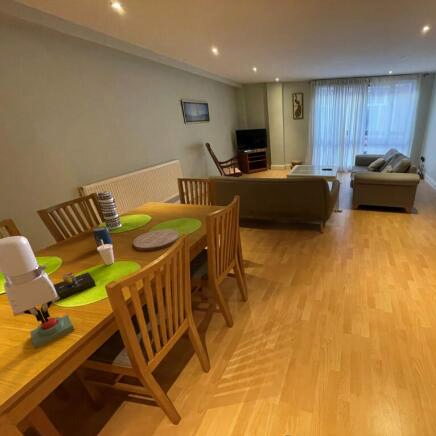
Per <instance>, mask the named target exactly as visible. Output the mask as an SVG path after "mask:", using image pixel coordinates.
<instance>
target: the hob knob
mask: <svg viewBox="0 0 436 436" xmlns="http://www.w3.org/2000/svg"><path fill="white" fill-rule="evenodd" d="M75 277H76V276H75V274H74V272H73V271H72V272H67V273H64V274H63V275H62V276H61V278H62V280H63V281H64V282H65V284H66V286H71V285H74V284H75V283H76V282H77V281H76V279H75Z"/></svg>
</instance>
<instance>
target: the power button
mask: <svg viewBox="0 0 436 436" xmlns="http://www.w3.org/2000/svg"><path fill="white" fill-rule="evenodd" d="M55 318H56V317H49V318H48V320H49V321H48V322H45V323H43V324H42V322H41V323H40V324H41V326H42V328H43V329H49V328H51V327H53V326H55V325H56V324H57V321H56V319H55ZM44 321H45V319H44Z"/></svg>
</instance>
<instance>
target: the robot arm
mask: <svg viewBox="0 0 436 436" xmlns="http://www.w3.org/2000/svg"><path fill="white" fill-rule="evenodd" d="M47 269H48V268H47V266H46V264H43V265H40V264H39V263H38V261H37V259H36V255H35V253H34V251H33V249H32V247H31V245H30V242H29V240H28V238H26V237H25V236H23V235H14V236H7V237H3V238H0V272H1V274H2V276H3V278H4V280H5V282H4V284H3V287H4V292H5V295H6V297H7V301H8V303H9V305H10V308H11V310H12V311H13V316H14V317H18V316H22V315H32V316H34V317H35V319H36V321H37V322H38V323H39V322H41V323H42V324H43V323H45V322H48V321H49V320H48V319H49V318H51V315H50V313H49V311H48V310H49V308H50V307H51V306H52V304H53V303H54V302H55V301H57V300H59V299H60V297H59V296H58V295H57V293H56V290H55V288H54V286H53V285H54V284H53V281H52V280H51V278H50V277H49V274H47V272H45V270H47ZM55 303H56V302H55ZM39 306H41V307H40V308H37V307H39ZM44 320H45V321H44Z"/></svg>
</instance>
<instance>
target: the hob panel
mask: <svg viewBox="0 0 436 436" xmlns="http://www.w3.org/2000/svg"><path fill="white" fill-rule="evenodd" d="M75 279H76V281H77V282H76V283H75V284H74V285H71V286H66V284H65V282H64V280H63V281H60V282H57V283H54V284H53V286H54V288H55V290H56V293H57V295H58V296H59V297H60V299H59V300H57V301H55V302H53V303H58V302H60V301H63V300H65V299H67V298H69V297H70V298H71V297H72V296H74V295H77V294H80V293H82V292H84V290H85V291H87V290H89V289H92V288H94V287H97V284H96V281H95V279H94V278H93V277H92V275H91V274H90V273H89V271H87V272H84V273H82V274H78V275H76V276H75Z"/></svg>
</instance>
